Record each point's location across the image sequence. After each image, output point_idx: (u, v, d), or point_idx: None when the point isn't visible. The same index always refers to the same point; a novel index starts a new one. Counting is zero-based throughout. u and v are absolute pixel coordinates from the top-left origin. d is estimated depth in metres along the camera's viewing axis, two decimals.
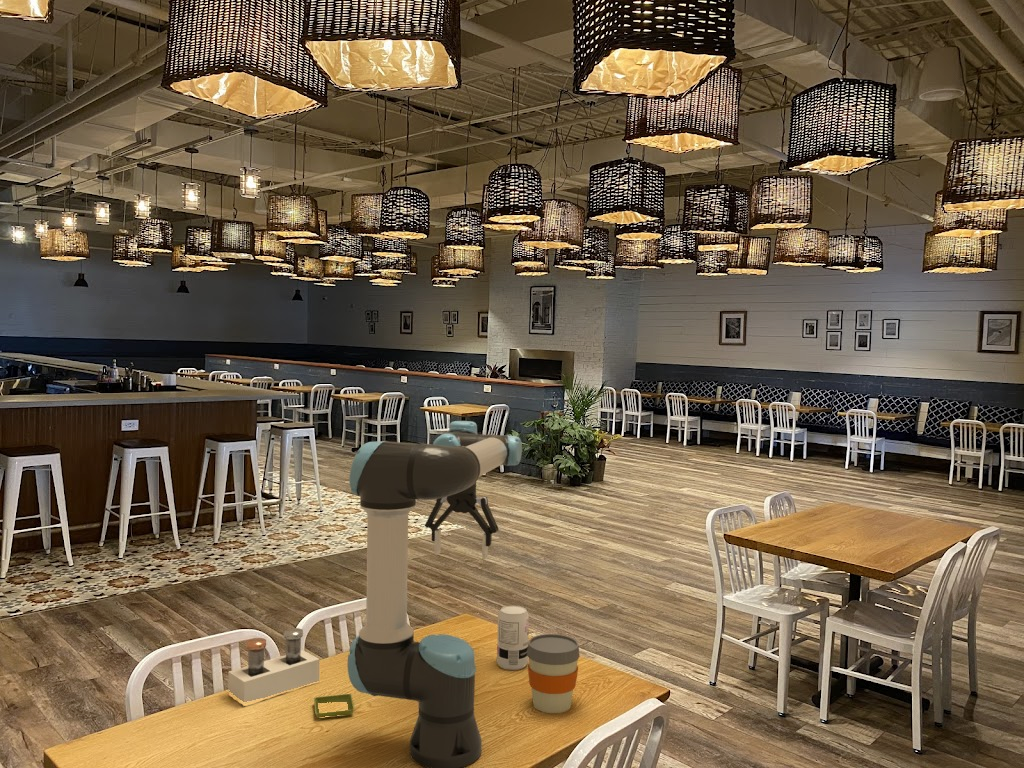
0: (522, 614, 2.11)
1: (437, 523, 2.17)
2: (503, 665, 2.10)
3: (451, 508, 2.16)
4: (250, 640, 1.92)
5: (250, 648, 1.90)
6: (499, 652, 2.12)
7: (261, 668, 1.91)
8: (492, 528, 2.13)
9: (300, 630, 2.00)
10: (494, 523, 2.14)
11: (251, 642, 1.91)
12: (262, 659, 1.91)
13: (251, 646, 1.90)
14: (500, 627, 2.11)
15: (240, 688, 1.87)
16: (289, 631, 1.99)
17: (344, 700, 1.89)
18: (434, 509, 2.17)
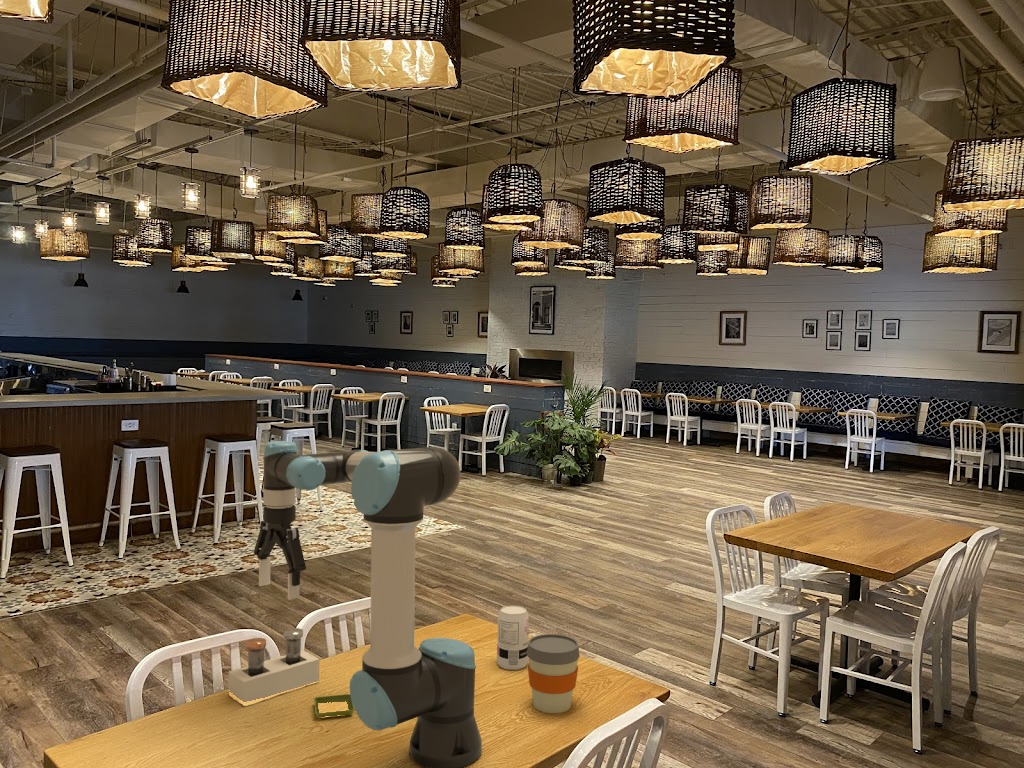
0: (522, 614, 2.11)
1: (261, 552, 1.97)
2: (503, 665, 2.10)
3: (267, 537, 1.94)
4: (250, 640, 1.92)
5: (250, 648, 1.90)
6: (499, 652, 2.12)
7: (261, 668, 1.91)
8: (294, 566, 1.86)
9: (300, 630, 2.00)
10: (299, 561, 1.87)
11: (251, 642, 1.91)
12: (262, 659, 1.91)
13: (251, 646, 1.90)
14: (500, 627, 2.11)
15: (240, 688, 1.87)
16: (289, 631, 1.99)
17: (344, 701, 1.89)
18: (259, 536, 1.98)
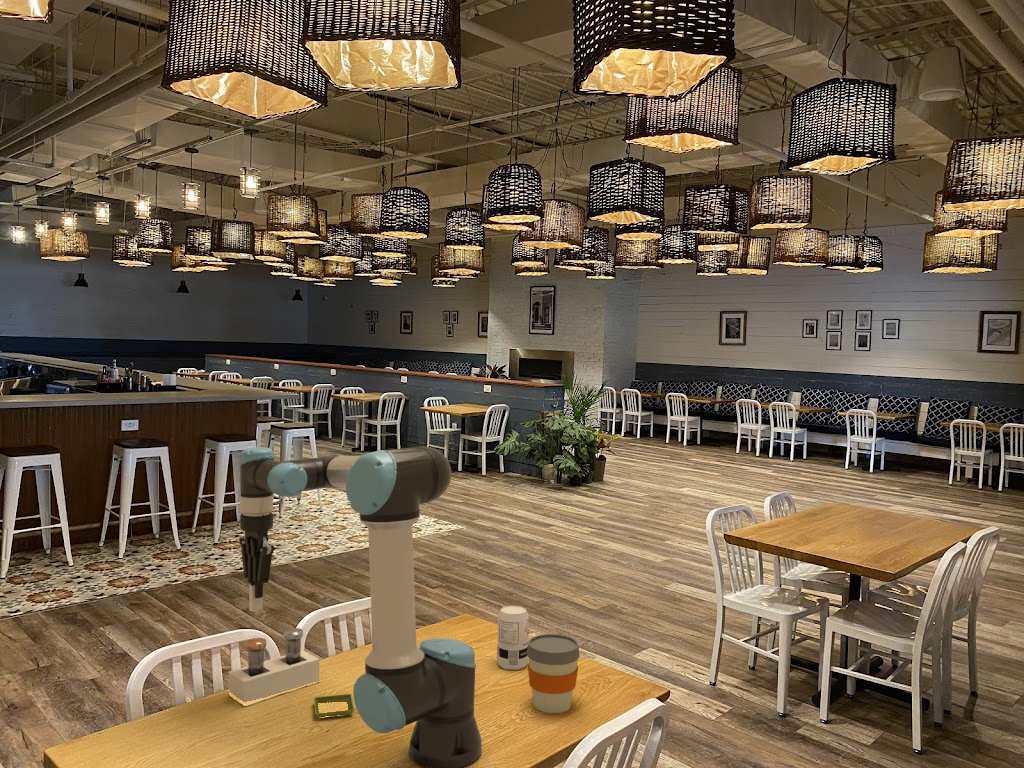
0: (522, 614, 2.11)
1: (248, 572, 1.91)
2: (503, 665, 2.10)
3: (247, 548, 1.90)
4: (250, 640, 1.92)
5: (250, 648, 1.90)
6: (499, 652, 2.12)
7: (261, 668, 1.91)
8: (258, 578, 1.88)
9: (300, 630, 2.00)
10: (264, 575, 1.88)
11: (251, 642, 1.91)
12: (262, 659, 1.91)
13: (251, 646, 1.90)
14: (500, 627, 2.11)
15: (240, 688, 1.87)
16: (289, 631, 1.99)
17: (344, 700, 1.89)
18: (242, 555, 1.93)
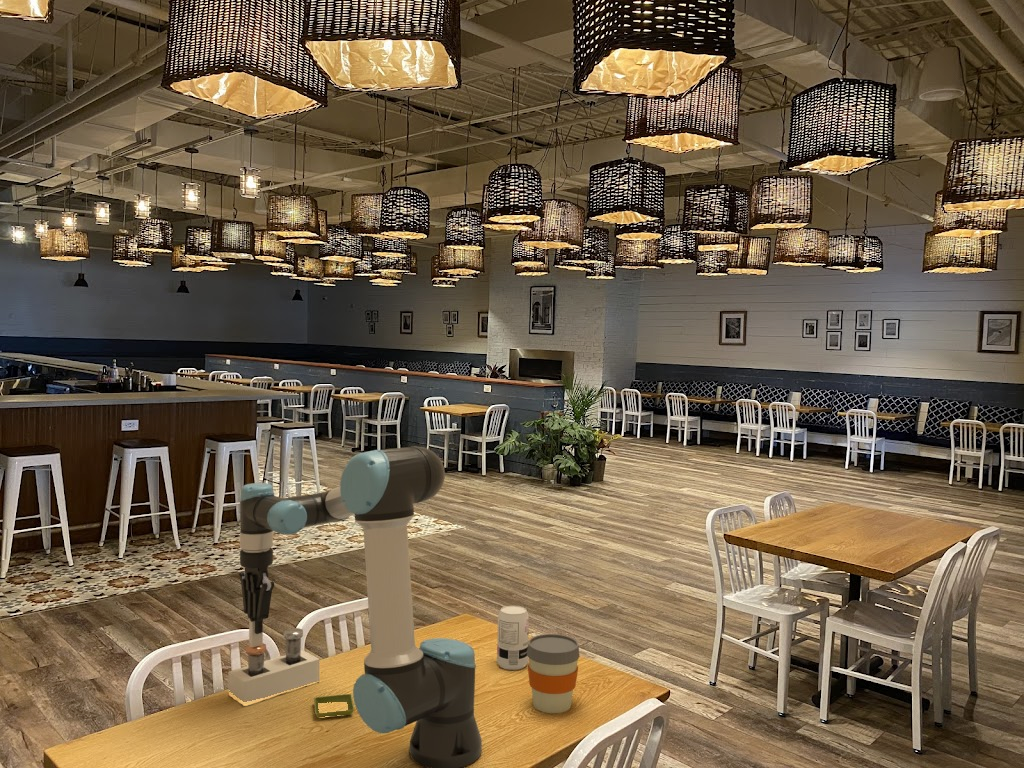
0: (522, 614, 2.11)
1: (248, 608, 1.91)
2: (503, 665, 2.10)
3: (247, 583, 1.91)
4: None
5: (250, 653, 1.90)
6: (499, 652, 2.12)
7: (261, 673, 1.91)
8: (258, 614, 1.88)
9: (300, 630, 2.00)
10: (264, 611, 1.88)
11: (251, 647, 1.91)
12: (262, 664, 1.91)
13: (251, 651, 1.90)
14: (500, 627, 2.11)
15: (240, 688, 1.87)
16: (289, 631, 1.99)
17: (344, 700, 1.89)
18: (242, 590, 1.93)
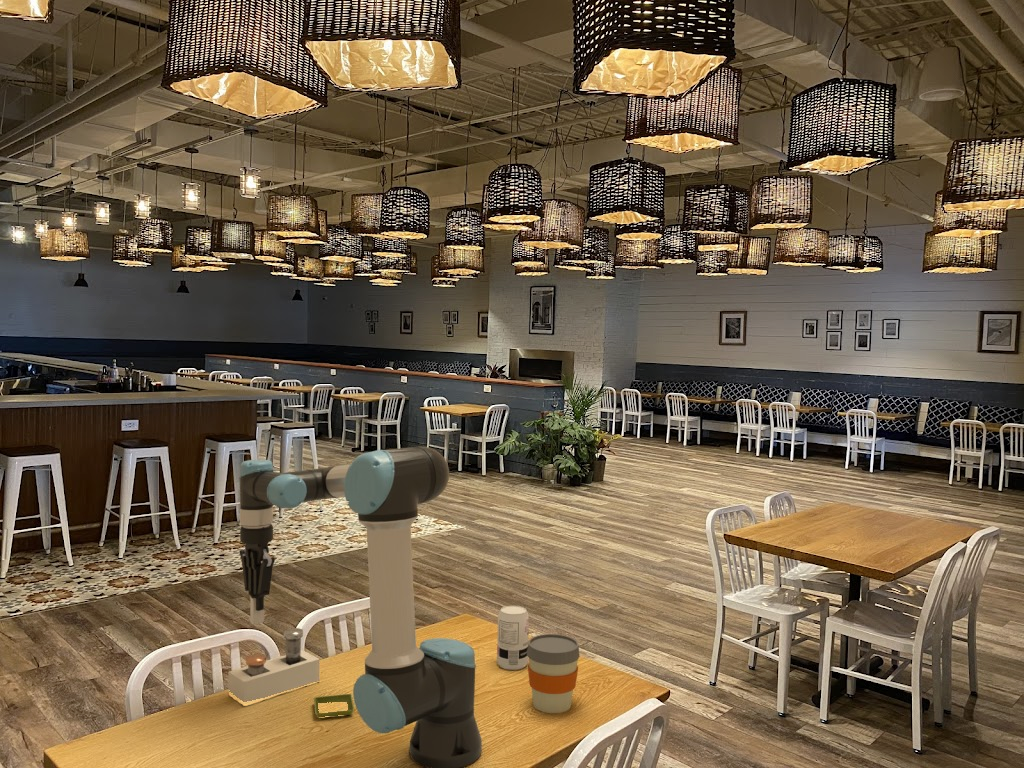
0: (522, 614, 2.11)
1: (249, 585, 1.91)
2: (503, 665, 2.10)
3: (248, 560, 1.90)
4: (250, 656, 1.93)
5: (250, 664, 1.90)
6: (499, 652, 2.12)
7: None
8: (258, 591, 1.88)
9: (300, 630, 2.00)
10: (264, 587, 1.88)
11: (251, 658, 1.91)
12: None
13: (251, 662, 1.90)
14: (500, 627, 2.11)
15: (240, 688, 1.87)
16: (289, 631, 1.99)
17: (344, 700, 1.89)
18: (243, 567, 1.93)
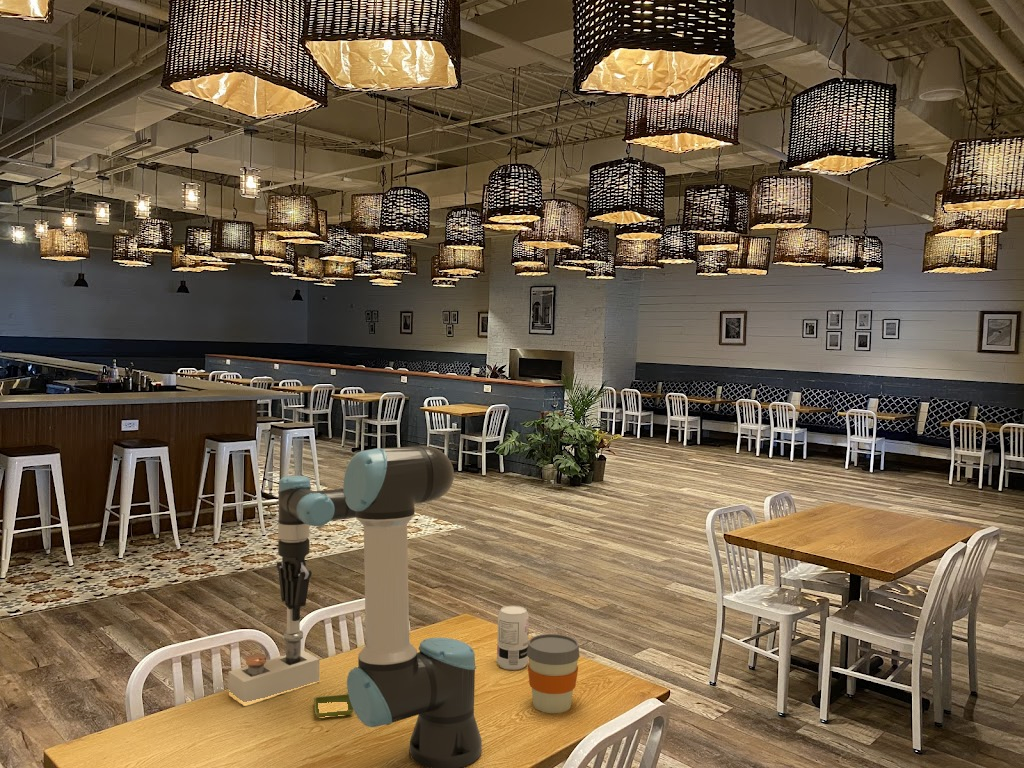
0: (522, 614, 2.11)
1: (286, 596, 1.98)
2: (503, 665, 2.10)
3: (285, 572, 1.98)
4: (250, 656, 1.93)
5: (250, 664, 1.90)
6: (499, 652, 2.12)
7: None
8: (295, 602, 1.95)
9: (300, 632, 2.00)
10: (301, 599, 1.95)
11: (251, 658, 1.91)
12: None
13: (251, 662, 1.90)
14: (500, 627, 2.11)
15: (240, 688, 1.87)
16: None
17: (344, 701, 1.89)
18: (280, 579, 2.00)
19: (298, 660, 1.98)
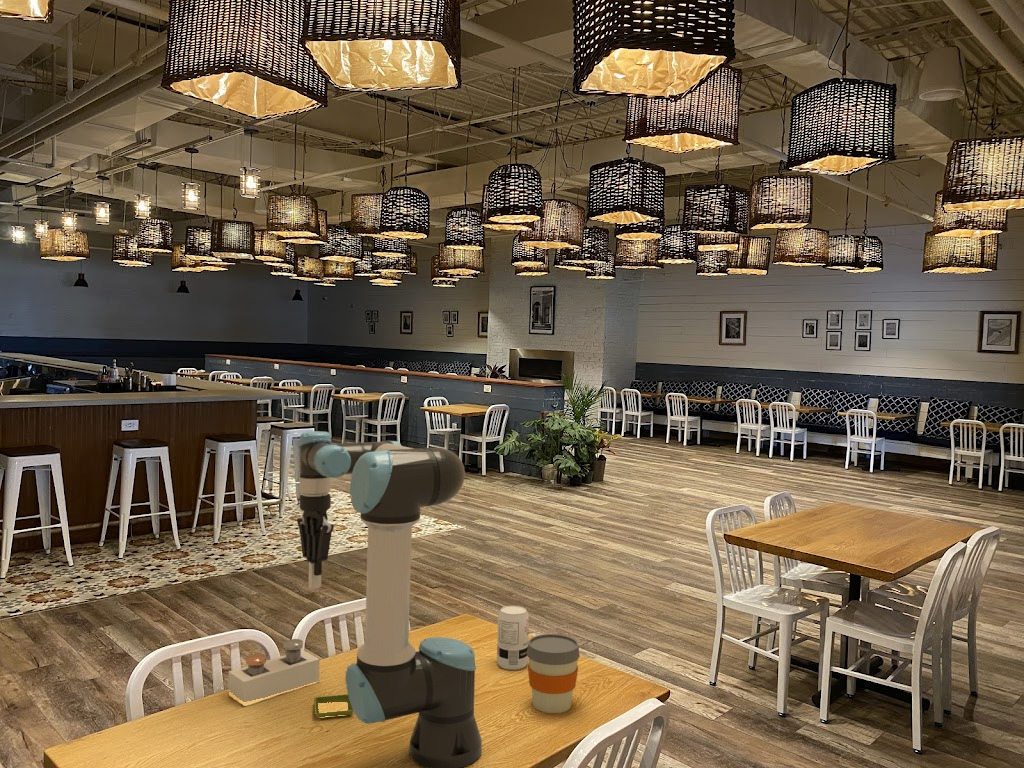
0: (522, 614, 2.11)
1: (308, 551, 1.99)
2: (503, 665, 2.10)
3: (306, 527, 1.99)
4: (250, 656, 1.93)
5: (250, 664, 1.90)
6: (499, 652, 2.12)
7: None
8: (318, 556, 1.96)
9: (300, 641, 2.00)
10: (323, 553, 1.97)
11: (251, 658, 1.91)
12: None
13: (251, 662, 1.90)
14: (500, 627, 2.11)
15: (240, 688, 1.87)
16: (289, 642, 1.99)
17: (344, 701, 1.89)
18: (301, 535, 2.01)
19: None
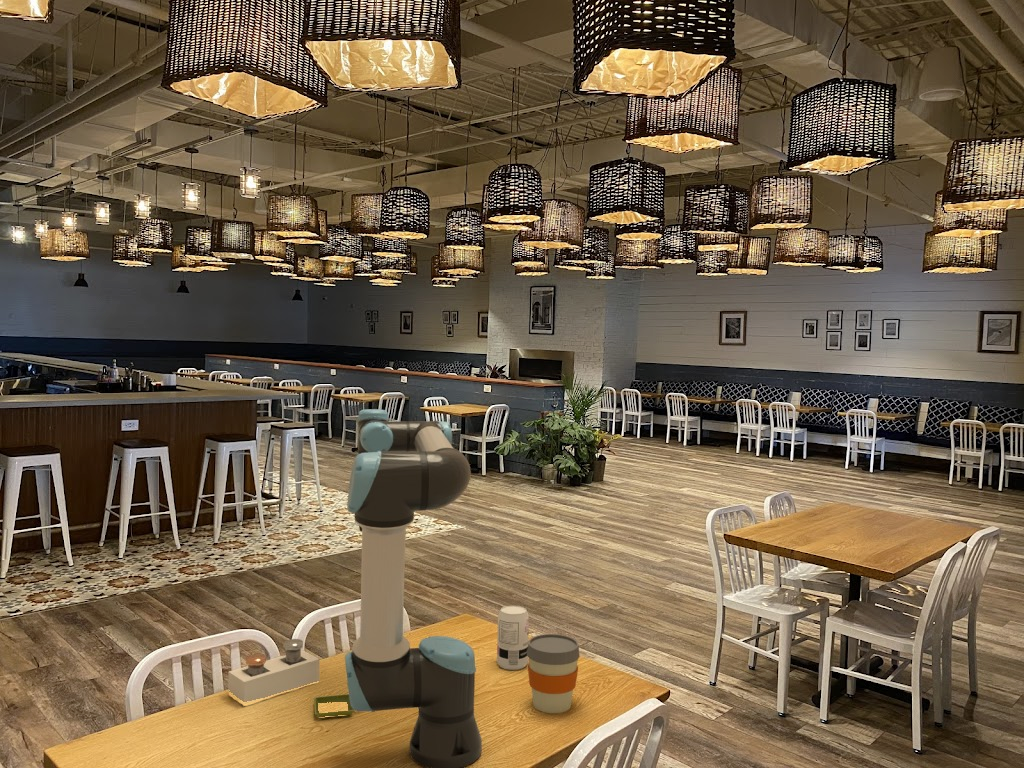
0: (522, 614, 2.11)
1: None
2: (503, 665, 2.10)
3: None
4: (250, 656, 1.93)
5: (250, 664, 1.90)
6: (499, 652, 2.12)
7: None
8: None
9: (300, 641, 2.00)
10: None
11: (251, 658, 1.91)
12: None
13: (251, 662, 1.90)
14: (500, 627, 2.11)
15: (240, 688, 1.87)
16: (289, 642, 1.99)
17: (344, 701, 1.89)
18: None
19: None
